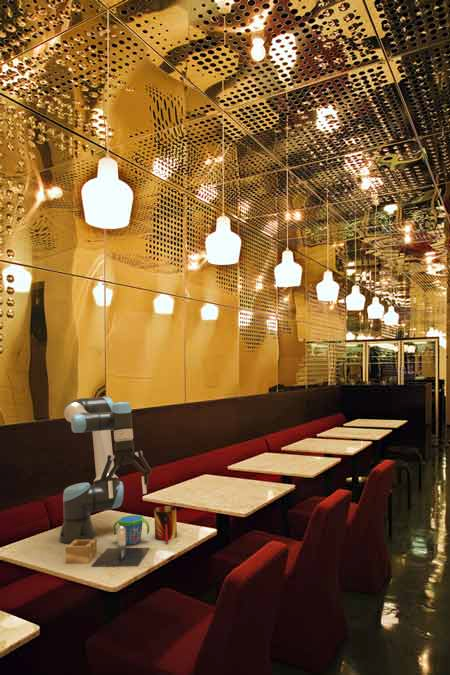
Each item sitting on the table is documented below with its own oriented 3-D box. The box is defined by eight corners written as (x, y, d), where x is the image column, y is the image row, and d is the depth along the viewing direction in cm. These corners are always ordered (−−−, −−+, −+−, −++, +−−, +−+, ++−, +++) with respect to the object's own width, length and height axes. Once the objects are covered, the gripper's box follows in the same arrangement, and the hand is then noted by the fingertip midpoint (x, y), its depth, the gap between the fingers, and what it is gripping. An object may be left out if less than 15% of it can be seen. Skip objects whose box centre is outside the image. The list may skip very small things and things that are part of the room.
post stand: (107, 549, 195) (106, 519, 196) (149, 548, 193) (149, 518, 195) (91, 566, 177) (90, 533, 178) (138, 566, 176) (137, 532, 177)
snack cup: (109, 546, 199) (108, 521, 200) (120, 538, 209) (119, 514, 210) (143, 547, 195) (143, 522, 196) (153, 539, 206) (152, 515, 207)
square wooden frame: (75, 554, 190) (75, 539, 191) (96, 554, 190) (96, 539, 190) (65, 563, 181) (65, 547, 182) (88, 563, 181) (88, 547, 181)
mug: (166, 544, 197) (165, 515, 199) (151, 536, 209) (150, 509, 210) (185, 539, 203) (184, 511, 204) (170, 532, 214) (169, 505, 215)
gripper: (90, 444, 186) (93, 500, 181) (151, 436, 185) (156, 492, 179) (97, 445, 193) (100, 499, 188) (156, 436, 192) (161, 491, 186)
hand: (128, 495), depth 183 cm, fingers open, 13 cm apart
